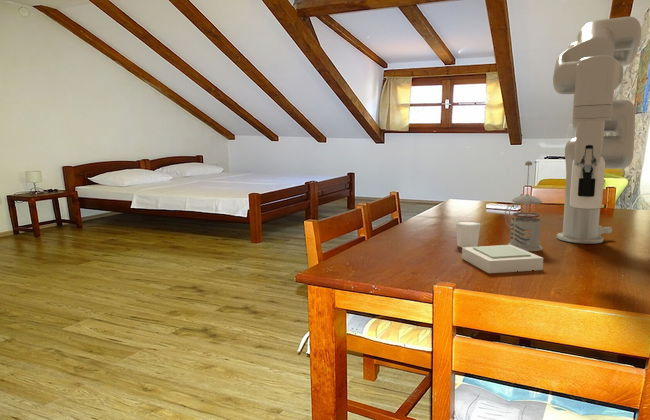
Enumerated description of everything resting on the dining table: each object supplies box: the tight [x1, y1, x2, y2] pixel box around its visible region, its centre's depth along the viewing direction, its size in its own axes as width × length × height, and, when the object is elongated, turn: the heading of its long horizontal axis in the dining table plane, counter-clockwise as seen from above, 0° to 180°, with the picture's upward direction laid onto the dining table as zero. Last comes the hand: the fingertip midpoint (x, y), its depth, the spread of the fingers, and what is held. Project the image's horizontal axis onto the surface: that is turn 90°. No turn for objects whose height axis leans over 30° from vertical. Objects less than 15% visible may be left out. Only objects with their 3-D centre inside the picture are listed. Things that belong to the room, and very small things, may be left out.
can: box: [570, 155, 606, 210], centre depth 104 cm, size 6×6×12 cm
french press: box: [504, 160, 543, 252], centre depth 131 cm, size 10×12×25 cm
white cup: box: [455, 220, 481, 248], centre depth 134 cm, size 7×7×7 cm
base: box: [461, 244, 544, 274], centre depth 115 cm, size 14×14×3 cm
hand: (586, 193), depth 104 cm, fingers closed on can, 6 cm apart
